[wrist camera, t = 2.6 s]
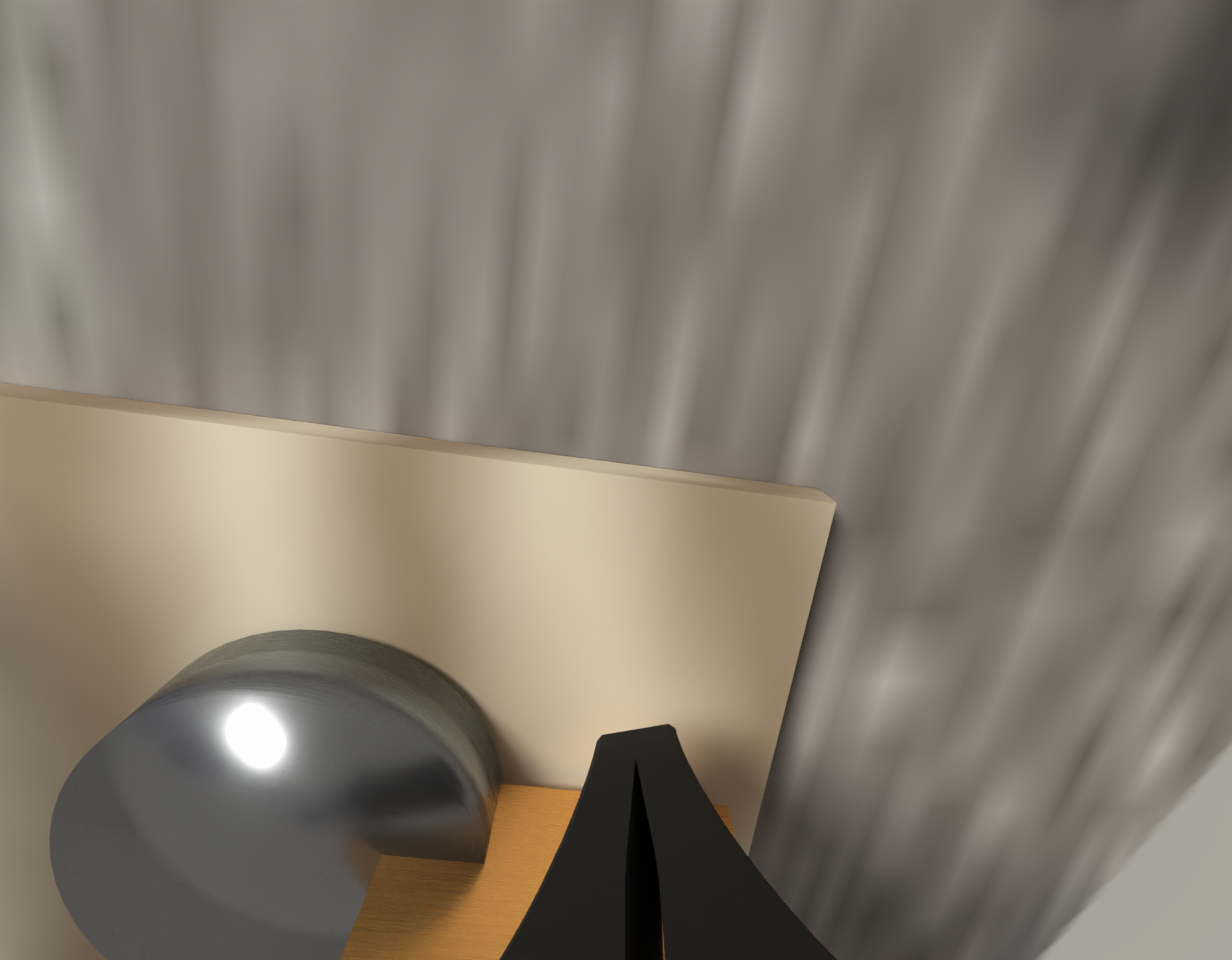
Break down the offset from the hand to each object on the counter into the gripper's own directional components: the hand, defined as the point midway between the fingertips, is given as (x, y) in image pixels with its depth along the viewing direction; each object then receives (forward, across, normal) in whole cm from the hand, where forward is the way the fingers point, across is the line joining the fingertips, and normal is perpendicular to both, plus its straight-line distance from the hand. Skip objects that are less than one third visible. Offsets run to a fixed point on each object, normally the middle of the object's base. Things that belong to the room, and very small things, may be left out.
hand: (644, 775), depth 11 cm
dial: (+2, +5, +2) cm, 6 cm away
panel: (+4, +7, +2) cm, 8 cm away
